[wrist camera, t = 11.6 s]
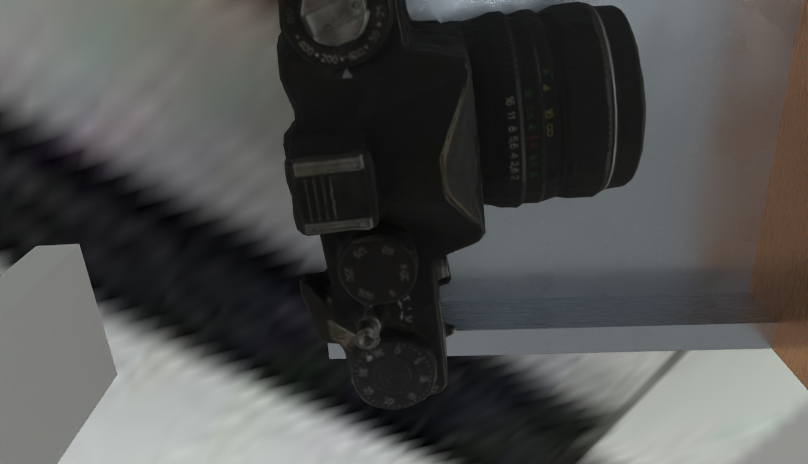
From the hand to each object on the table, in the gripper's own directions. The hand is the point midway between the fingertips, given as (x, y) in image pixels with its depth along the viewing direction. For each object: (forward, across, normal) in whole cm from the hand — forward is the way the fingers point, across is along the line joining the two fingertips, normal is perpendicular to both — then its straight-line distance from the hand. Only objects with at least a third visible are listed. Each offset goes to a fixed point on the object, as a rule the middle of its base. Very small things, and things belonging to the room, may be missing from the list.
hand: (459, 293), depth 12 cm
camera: (+16, +1, -1) cm, 16 cm away
